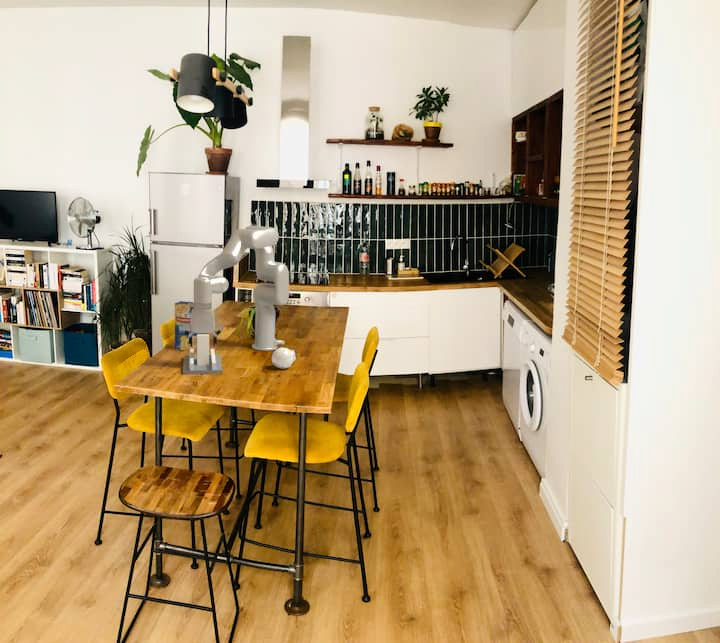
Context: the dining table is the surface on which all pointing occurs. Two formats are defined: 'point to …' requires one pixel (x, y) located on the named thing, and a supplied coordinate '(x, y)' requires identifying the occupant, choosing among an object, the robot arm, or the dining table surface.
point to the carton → (202, 348)
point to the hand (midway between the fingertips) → (202, 345)
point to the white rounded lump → (283, 357)
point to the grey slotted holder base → (193, 368)
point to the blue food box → (182, 319)
